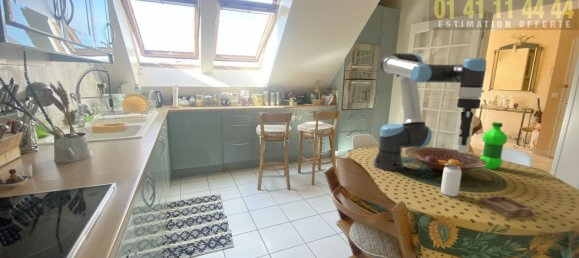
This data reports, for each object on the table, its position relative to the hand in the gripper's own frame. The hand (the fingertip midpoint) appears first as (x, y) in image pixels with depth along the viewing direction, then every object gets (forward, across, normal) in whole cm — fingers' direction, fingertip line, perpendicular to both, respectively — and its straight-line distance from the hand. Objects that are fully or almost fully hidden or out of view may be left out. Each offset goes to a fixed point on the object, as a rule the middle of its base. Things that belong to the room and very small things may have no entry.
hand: (461, 148), depth 107 cm
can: (+20, -3, +2) cm, 20 cm away
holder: (+20, -7, -16) cm, 26 cm away
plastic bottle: (+20, +47, -16) cm, 54 cm away
